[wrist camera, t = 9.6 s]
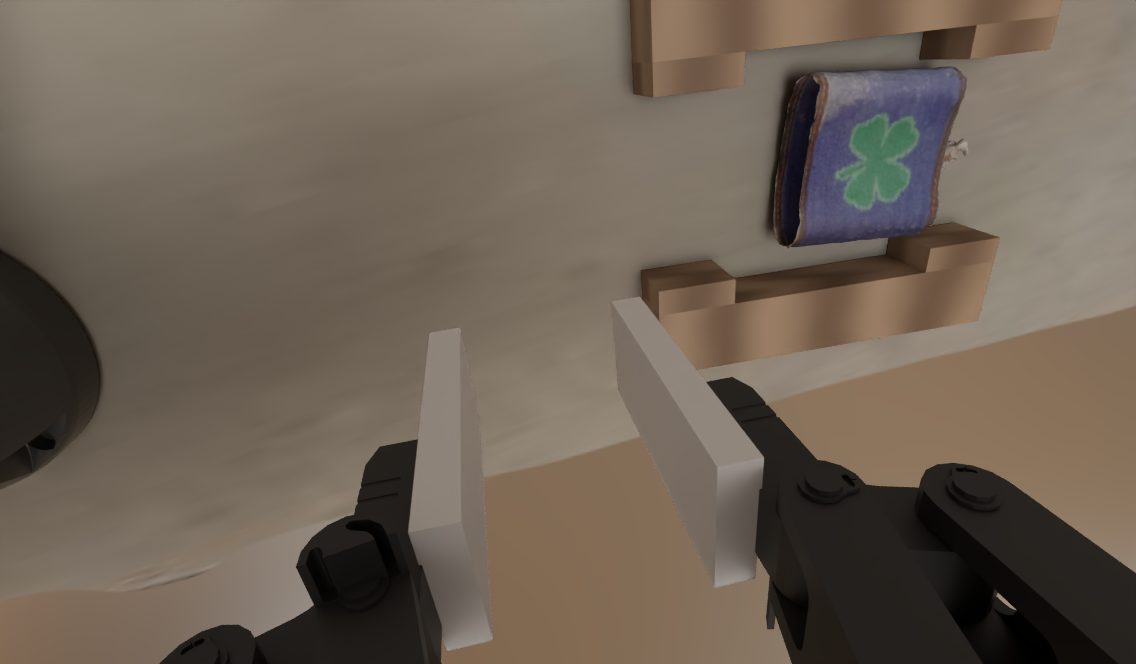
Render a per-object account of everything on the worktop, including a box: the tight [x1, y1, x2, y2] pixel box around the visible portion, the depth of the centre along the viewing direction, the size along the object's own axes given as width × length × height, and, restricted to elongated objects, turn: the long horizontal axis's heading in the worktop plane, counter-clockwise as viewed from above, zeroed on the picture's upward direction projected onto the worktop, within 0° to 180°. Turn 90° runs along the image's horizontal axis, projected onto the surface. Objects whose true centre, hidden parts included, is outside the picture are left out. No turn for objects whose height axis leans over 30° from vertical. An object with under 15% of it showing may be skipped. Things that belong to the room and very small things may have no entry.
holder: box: [630, 0, 1063, 370], centre depth 31 cm, size 21×21×4 cm
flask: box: [774, 67, 969, 248], centre depth 31 cm, size 9×3×11 cm
